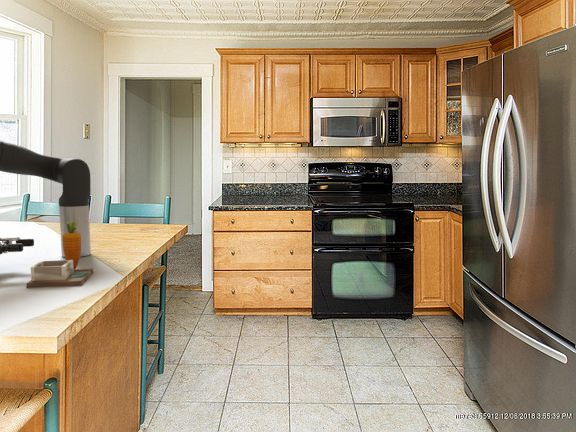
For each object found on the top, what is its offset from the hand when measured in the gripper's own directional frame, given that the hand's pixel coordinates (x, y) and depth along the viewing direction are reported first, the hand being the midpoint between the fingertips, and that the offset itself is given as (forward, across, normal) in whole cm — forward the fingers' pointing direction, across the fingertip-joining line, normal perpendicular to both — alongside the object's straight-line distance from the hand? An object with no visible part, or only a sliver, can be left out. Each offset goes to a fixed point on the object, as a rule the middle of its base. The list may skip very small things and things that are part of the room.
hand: (28, 244), depth 131 cm
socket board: (+12, -12, +8) cm, 18 cm away
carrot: (+12, 0, +8) cm, 14 cm away
